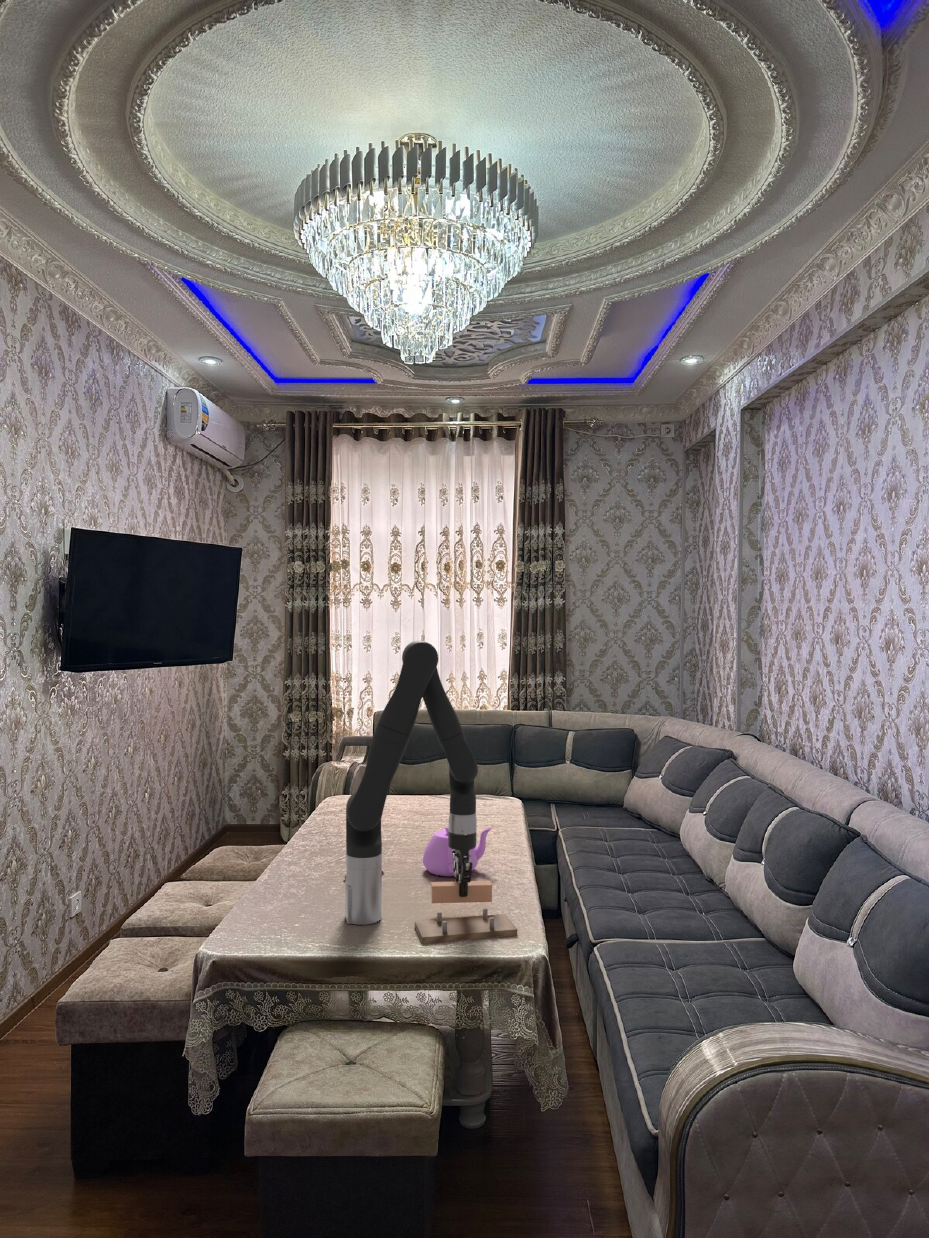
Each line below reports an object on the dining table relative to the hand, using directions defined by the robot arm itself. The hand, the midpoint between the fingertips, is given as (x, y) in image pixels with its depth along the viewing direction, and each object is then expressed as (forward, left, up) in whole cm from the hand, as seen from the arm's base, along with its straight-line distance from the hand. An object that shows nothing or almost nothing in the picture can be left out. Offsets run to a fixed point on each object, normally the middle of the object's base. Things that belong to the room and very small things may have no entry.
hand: (461, 893), depth 225 cm
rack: (-2, -12, -6) cm, 13 cm away
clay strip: (0, 0, -2) cm, 2 cm away
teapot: (+7, +37, -6) cm, 38 cm away
